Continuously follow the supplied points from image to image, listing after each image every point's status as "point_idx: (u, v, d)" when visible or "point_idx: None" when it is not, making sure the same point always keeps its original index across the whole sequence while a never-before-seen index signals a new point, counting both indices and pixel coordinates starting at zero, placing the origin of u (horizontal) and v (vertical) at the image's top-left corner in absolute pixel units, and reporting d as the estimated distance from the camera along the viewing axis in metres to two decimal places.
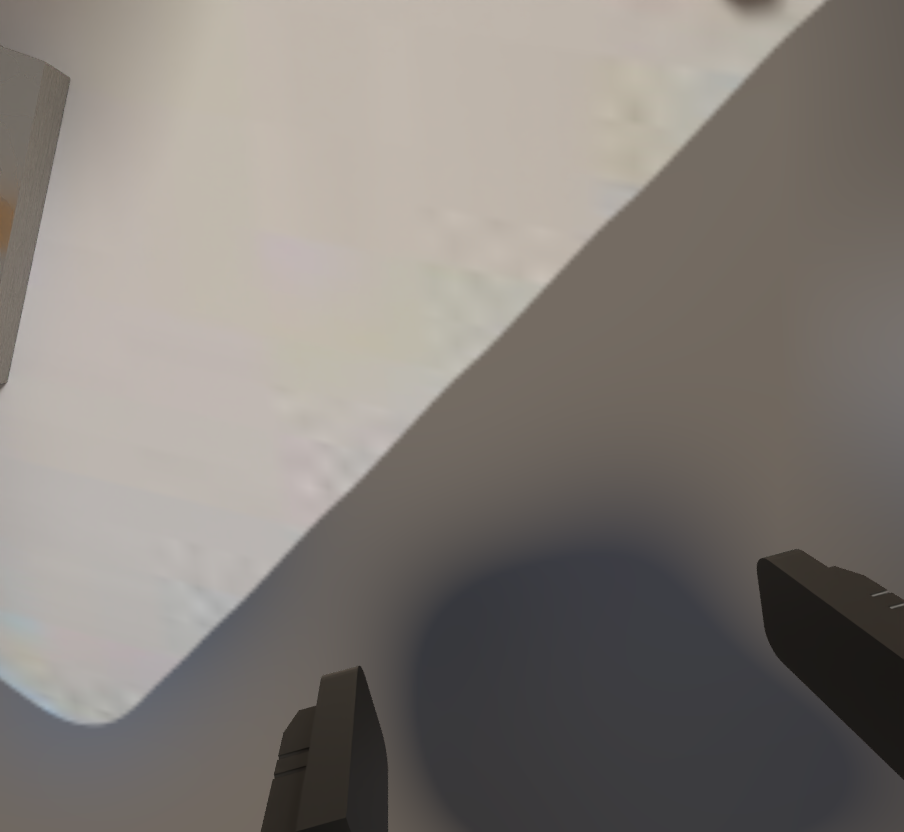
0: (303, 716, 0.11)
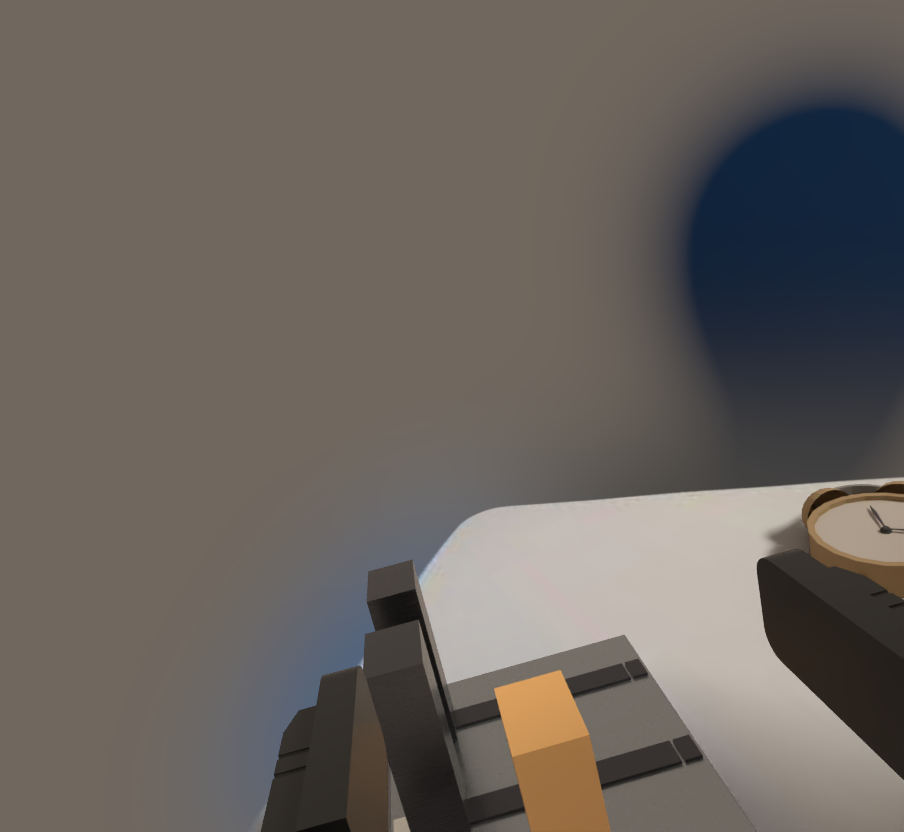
0: (303, 716, 0.11)
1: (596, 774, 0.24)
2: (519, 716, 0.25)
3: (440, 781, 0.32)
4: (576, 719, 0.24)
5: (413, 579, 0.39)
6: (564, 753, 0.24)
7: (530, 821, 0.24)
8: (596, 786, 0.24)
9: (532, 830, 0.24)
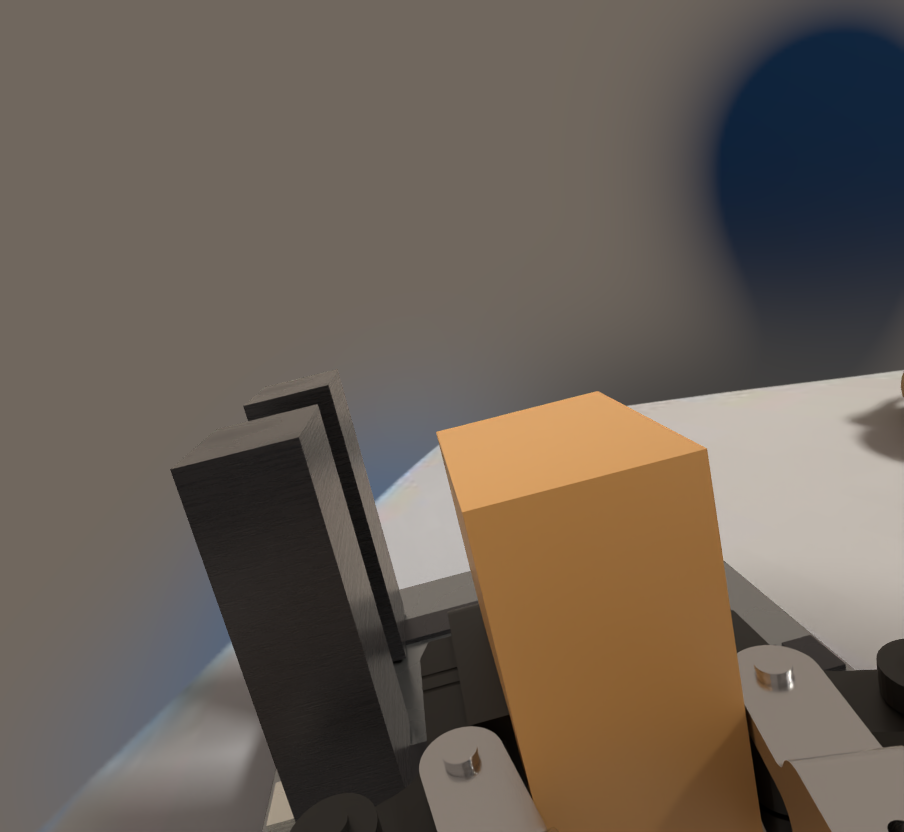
0: (435, 646, 0.12)
1: (721, 584, 0.08)
2: (493, 452, 0.09)
3: (343, 695, 0.16)
4: (656, 434, 0.08)
5: (329, 379, 0.23)
6: (626, 509, 0.08)
7: (520, 728, 0.08)
8: (719, 624, 0.08)
9: (526, 756, 0.08)
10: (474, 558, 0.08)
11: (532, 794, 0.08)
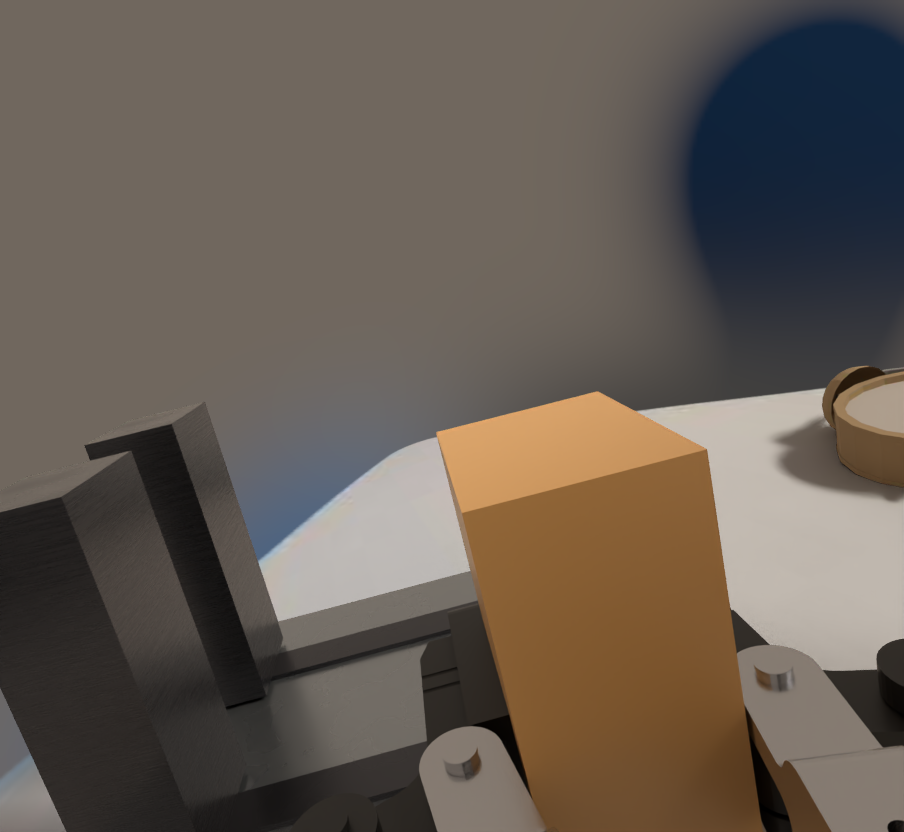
0: (435, 646, 0.12)
1: (721, 585, 0.08)
2: (493, 453, 0.09)
3: (129, 753, 0.16)
4: (656, 435, 0.08)
5: (181, 416, 0.23)
6: (626, 509, 0.08)
7: (520, 729, 0.08)
8: (719, 625, 0.08)
9: (526, 757, 0.08)
10: (474, 559, 0.08)
11: (532, 795, 0.08)
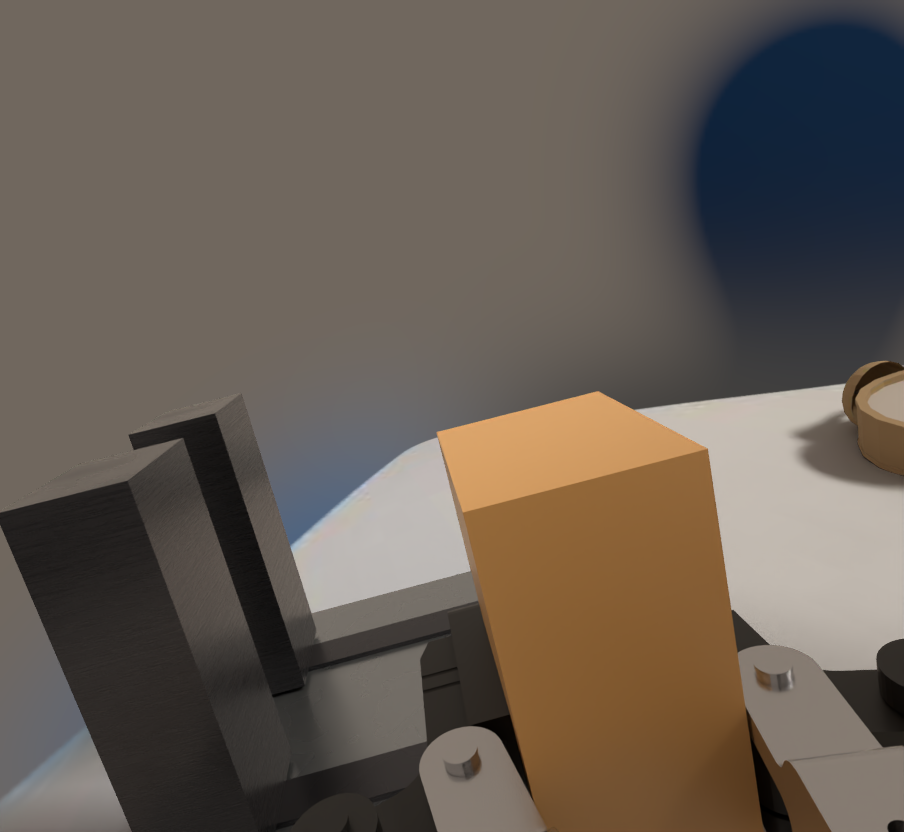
0: (435, 646, 0.12)
1: (722, 585, 0.08)
2: (494, 452, 0.09)
3: (188, 738, 0.16)
4: (656, 434, 0.08)
5: (222, 406, 0.23)
6: (627, 509, 0.08)
7: (521, 728, 0.08)
8: (719, 624, 0.08)
9: (527, 757, 0.08)
10: (475, 558, 0.08)
11: (533, 794, 0.08)
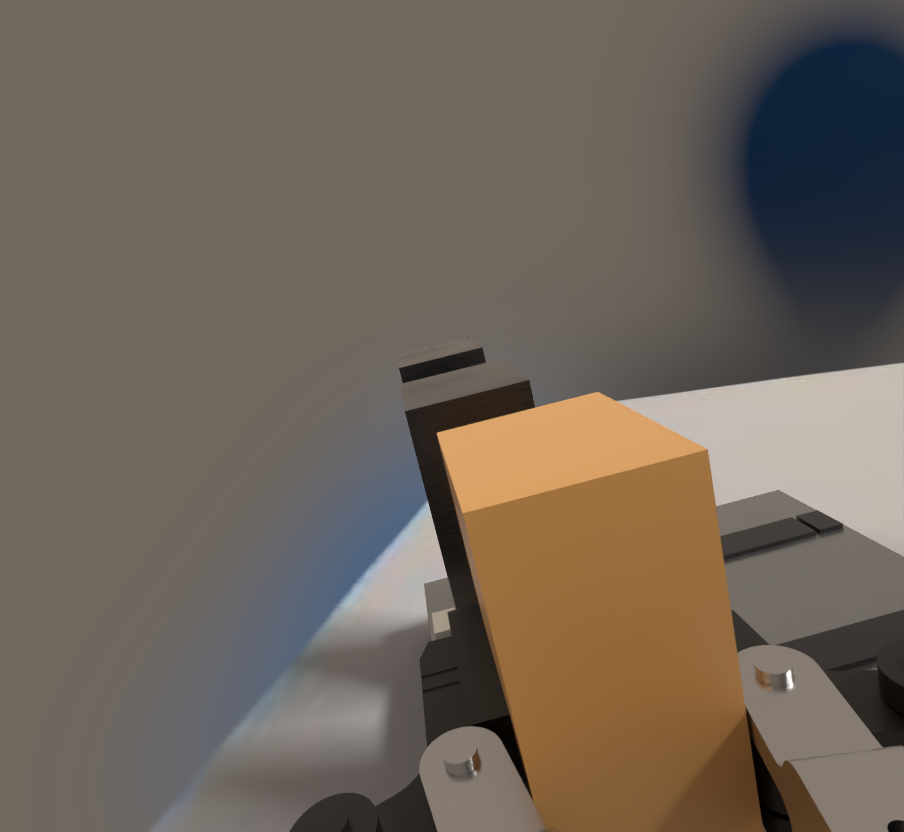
0: (435, 646, 0.12)
1: (722, 585, 0.08)
2: (494, 453, 0.09)
3: None
4: (656, 436, 0.08)
5: (475, 344, 0.23)
6: (627, 509, 0.08)
7: (520, 729, 0.08)
8: (719, 625, 0.08)
9: (526, 757, 0.08)
10: (474, 559, 0.07)
11: (533, 795, 0.08)
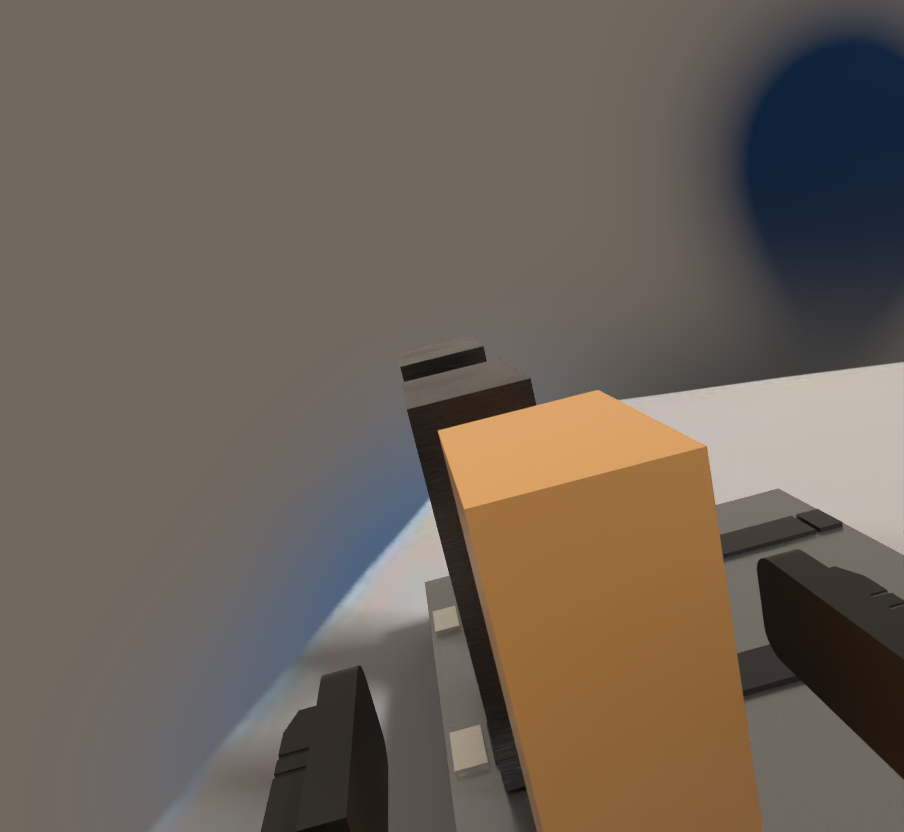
0: (304, 716, 0.11)
1: (721, 581, 0.08)
2: (495, 450, 0.09)
3: None
4: (656, 433, 0.08)
5: (476, 343, 0.23)
6: (626, 506, 0.08)
7: (522, 723, 0.08)
8: (718, 620, 0.08)
9: (527, 751, 0.08)
10: (476, 555, 0.08)
11: (533, 789, 0.08)
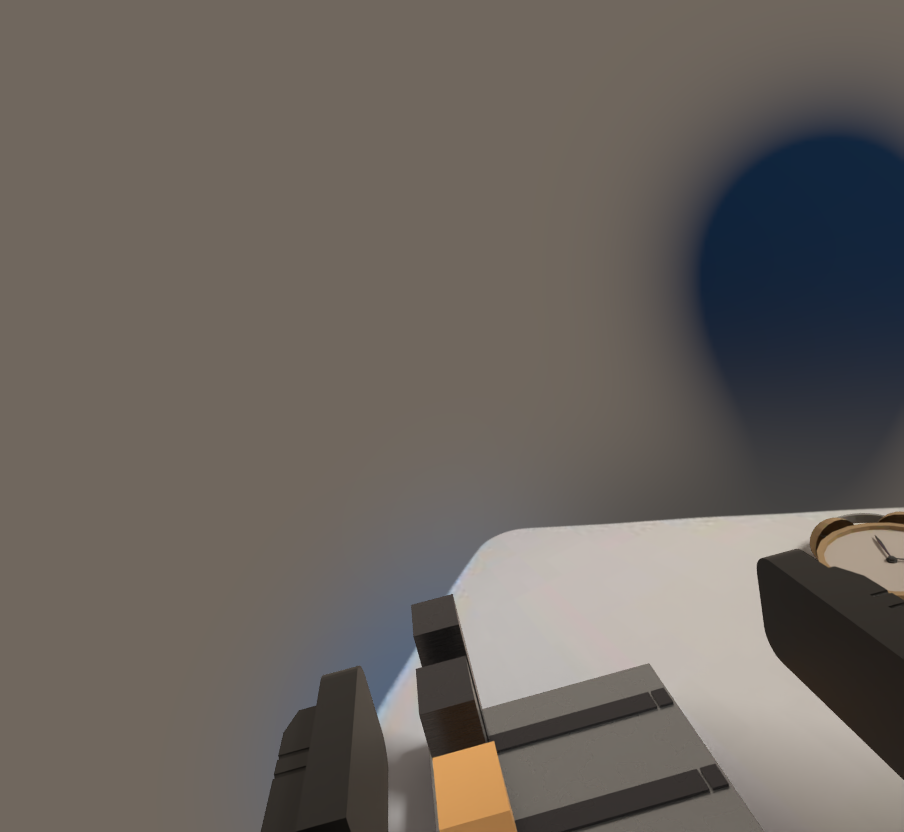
0: (303, 716, 0.11)
1: None
2: (451, 788, 0.28)
3: None
4: (500, 794, 0.27)
5: (455, 614, 0.42)
6: (486, 826, 0.26)
7: None
8: None
9: None
10: None
11: None
